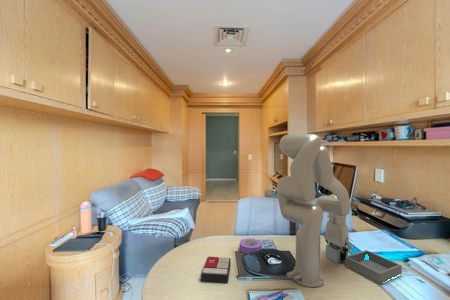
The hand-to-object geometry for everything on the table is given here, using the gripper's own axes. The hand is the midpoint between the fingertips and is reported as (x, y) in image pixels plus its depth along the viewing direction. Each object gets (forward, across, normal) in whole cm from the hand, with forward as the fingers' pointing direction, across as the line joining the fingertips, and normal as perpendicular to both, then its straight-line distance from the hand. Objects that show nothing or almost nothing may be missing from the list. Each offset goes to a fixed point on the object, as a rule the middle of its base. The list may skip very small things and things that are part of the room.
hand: (336, 256), depth 110 cm
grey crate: (+1, +14, +5) cm, 15 cm away
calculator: (+2, -14, -58) cm, 59 cm away
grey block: (+1, 0, 0) cm, 1 cm away
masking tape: (+1, -26, -33) cm, 42 cm away
